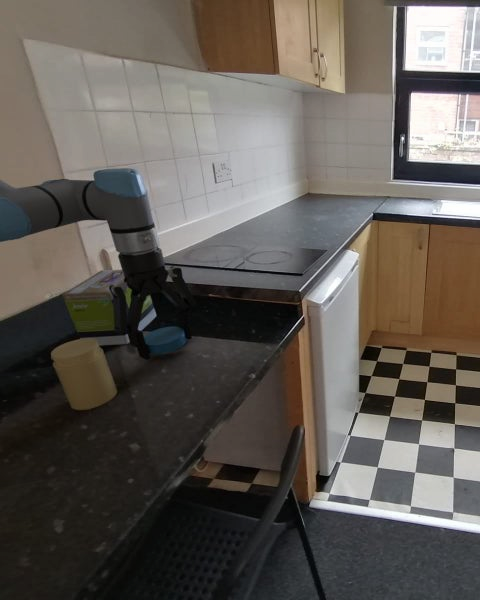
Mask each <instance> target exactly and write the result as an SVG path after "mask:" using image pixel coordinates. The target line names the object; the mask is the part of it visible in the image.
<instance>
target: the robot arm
mask: <svg viewBox="0 0 480 600" xmlns="http://www.w3.org/2000/svg"><path fill="white" fill-rule="evenodd" d="M83 221H103V222H104V221H106V222H107V225H108V229H109V232H110V236H111V238H112V241H113V242H112V243H113V244H114V248H115V251H116V252H117V253H118V255H117V258H118V261H119V264H120V268H121V270H122V271H123V273H124V282H123V283H120V284H118V285H110V286H109V290H110V292H111V294H112V296H113V310H114V330H115V332H117V333H120V334H122V335H125V334H128V337H129V340H130V342H129V344H130V345H131V346H132V347H134V348H136V349H137V353H138V356H139V358H141V359H144V360H146V361H149V360H150V359H151V356H150V355H151V354H149V352H148V349H147V346H146V342H145V339H144V336H145V335H144V333H143V330H142V331H140V330H138V326H139V322H140V317H141V313H142V308H143V304H144V301H146V297H147V296H149V295H150V296H151V295H153V294H154V293H155V294H156V293H161V294H162V295H163V296H165V298H167V299H168V301H169V302H171V304H172V305H173V306H174V307H176V309H177V310H176V311H174V312H175V316H176V320H177V324H178V327H180V328H182V329H183V330H184V333H185V337H186V340H188V341H190V340H192V339H193V336H192V334H191V333H192V332H191V328H190V324H191V323H192V318H191V315H190V313H191V312H192V308H193V307H195V306H196V305H197V302H196V301H195V299H194V297H193V295H192V292H191V291H190V289H189V287H188V285H187V283H186V282H185V279H184V277H183V270H182V268H181V267H177V266H174V265H171V266H170V267H168V268H167V267H166V266H165V264H166V263H165V258H164V254H163V250H162V248H160V247H159V246H160V245H161V244H160V240H159V237H158V231H157V229H156V225H155V221H154V218H153V214H152V210H151V206H150V200H149V196H148V190H147V188H146V186H145V183H144V180H143V177H142V174H141V173H140V171H138V170H137V169H136V168H131V167H129V168H127V167H125V168H123V167H122V168H106V169H99V170H98V169H97V170H96V171H94V172H93V180H91V179H90V180H89V179H69V178H60V179H50V180H45V181H43V182H42V183H41V184H37V185H30V186H22V187H14V186H12V185H11V184H9V183H7V182H5V181H4V180H1V179H0V243H2V242H7V241H14V240H19V239H22V238H25V237H28V236H32V235H34V234H38V233H41V232H45V231H48V230H52V229H57V228H60V227H64V226H65V227H66V226H68V225H72V224H76V223H79V222H83ZM168 277H169V278H171V282H172V283H173V284H174V286H175V288H176V290H177V292H178V294H179V296H180V297H179V296H178V295H177V294H176V292H174V290H173V289H172V287H171V286H170V285H169V284H168V283H167V279H168ZM127 288H130V289H131V290H132V291H131V295H130V297H131V302H130V307H129V311H128V316H127V306H126V296H125V294H126V293H127V292H126V289H127ZM138 294H139V295H138Z"/></svg>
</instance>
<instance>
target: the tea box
mask: <svg viewBox="0 0 480 600" xmlns="http://www.w3.org/2000/svg"><path fill="white" fill-rule="evenodd" d="M123 282H124V273H123V271H122V269H107V270H106V269H105V270H103V269H102V270H99V271H98V272H96V273H95V274H93V275H92V276H90V277H88V278H87V279H85V280H83V281H82V282H80V283H78V284H76V285H75V286H74V287H72V288H70V289H69V290H68V291H65V292H64V293H62V298H63V301H64V303H65V305H66V308H67V311H68V312H69V315H70V318H71V320H72V322H73V324H74V327H75V330H76V332H77V334H78V336H79V339H86V338H91V339H96V340H97V341H98V343H99V346H116V345H117V346H118V345H127V344H130V340H129V337H128V334H125V335H122V334H120V333H117V332H115V330H114V310H113V296H112V294H111V292H110V290H109V286H110V285H118V284H120V283H123ZM131 291H132V290H131V289H130V288H127V289H126V292H127V293H126V294H125V296H126V306H127V316H128V311H129V307H130V302H131V297H130V295H131ZM138 295H139V294H138ZM155 318H157V313H156V308H155V307H154V303H153V299H152V296H151V295H149V296H147V297H146V301H144V304H143V308H142V313H141V317H140V322H139V326H138V330H140V331H142V332H143V330H144V329H145V328H146V327H147V326H148V325H149V324H150V323H152V321H154V319H155Z"/></svg>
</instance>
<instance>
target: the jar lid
mask: <svg viewBox="0 0 480 600" xmlns="http://www.w3.org/2000/svg"><path fill="white" fill-rule="evenodd" d="M143 336H144V339H145V342H146V346H147V349H148V352H149V355H163V354H168V353H171V352H174V351H177V350H178V349H180V348H181V347H183V346H184V345H185V344H186V342H187V339H186V337H185V333H184V330H183V329H182V328H180V327H179V326H166V327H161V328H157V329H155V330H152V331H150V332H148V333H147V334H146V335H143Z"/></svg>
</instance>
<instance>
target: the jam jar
mask: <svg viewBox="0 0 480 600" xmlns="http://www.w3.org/2000/svg"><path fill="white" fill-rule="evenodd" d="M50 358H51V360H52V361H53V362H52V366H53V369H54V372H55V374H56V376H57V378H58V381H59V383H60V385H61V388H62V390H63V392H64V395H65V398H66V399H67V402H68V404H69V406H70V408H71V409H73V410H75V411H86V410H91V409H95V408H98V407H101V406H104V405H105V404H106V403H108V402H110V401H111V400H112V399H114V398H115V397H116V396H117V393H118V388H117V385H116V382H115V380H114V376H113V374H112V371H111V368H110V365H109V363H108V360H107V358H106V354H105V351H104V349H103V348H102V347H101V345H99V343H98V341H97V340H96V339H91V338H86V339H80V338H79V339H75V340H71V341H68V342H64V343H62V344H60V345H59V346H57V347H55V348H54V349H53V350H52V351H51V352H50Z"/></svg>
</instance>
